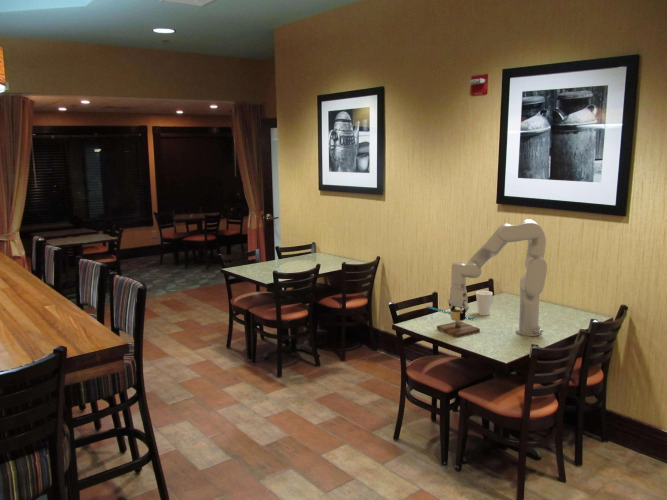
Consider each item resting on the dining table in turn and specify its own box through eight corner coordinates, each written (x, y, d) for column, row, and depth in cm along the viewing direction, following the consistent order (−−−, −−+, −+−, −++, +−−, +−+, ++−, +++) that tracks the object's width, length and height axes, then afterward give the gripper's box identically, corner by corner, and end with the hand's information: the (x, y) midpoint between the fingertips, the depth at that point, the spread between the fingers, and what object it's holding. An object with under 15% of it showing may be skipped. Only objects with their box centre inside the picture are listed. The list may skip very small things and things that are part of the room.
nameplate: (471, 321, 307) (476, 319, 310) (471, 320, 307) (476, 318, 310) (424, 308, 336) (429, 306, 339) (424, 307, 336) (429, 305, 339)
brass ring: (467, 319, 288) (467, 311, 287) (456, 321, 285) (457, 313, 284) (458, 316, 294) (458, 308, 294) (448, 318, 291) (448, 310, 290)
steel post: (462, 327, 290) (462, 315, 289) (457, 328, 288) (457, 316, 287) (458, 325, 293) (458, 313, 291) (453, 326, 291) (453, 314, 290)
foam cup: (492, 316, 314) (493, 294, 312) (476, 316, 316) (476, 294, 314) (491, 311, 323) (491, 290, 321) (475, 311, 325) (475, 290, 323)
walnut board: (479, 332, 287) (479, 328, 287) (456, 337, 280) (456, 334, 280) (459, 324, 301) (459, 321, 301) (437, 329, 294) (437, 325, 294)
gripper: (475, 288, 281) (474, 321, 284) (453, 281, 296) (452, 312, 299) (463, 290, 277) (463, 323, 280) (442, 283, 292) (442, 314, 296)
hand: (457, 317), depth 290 cm, fingers closed on brass ring, 7 cm apart
